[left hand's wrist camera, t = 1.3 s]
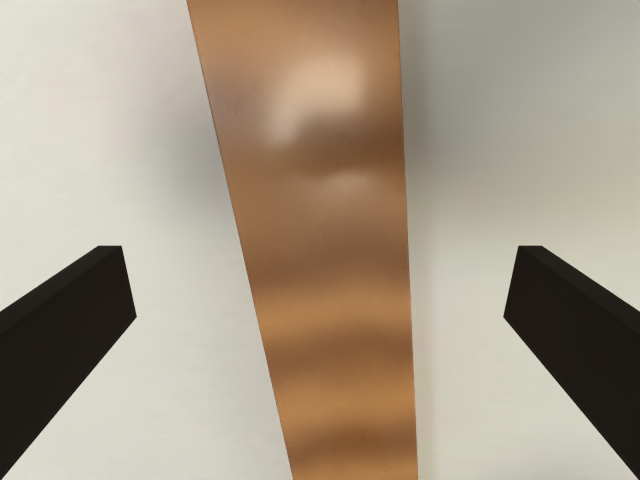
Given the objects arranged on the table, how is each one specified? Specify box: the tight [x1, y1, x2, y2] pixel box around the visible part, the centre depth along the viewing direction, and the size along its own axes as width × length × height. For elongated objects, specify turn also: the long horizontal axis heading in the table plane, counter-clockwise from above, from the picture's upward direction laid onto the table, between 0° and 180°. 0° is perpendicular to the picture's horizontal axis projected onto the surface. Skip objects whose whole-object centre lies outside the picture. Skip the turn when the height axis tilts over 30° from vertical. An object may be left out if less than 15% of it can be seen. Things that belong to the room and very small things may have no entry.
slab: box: [186, 0, 418, 480], centre depth 29 cm, size 60×9×7 cm, turn 7°
